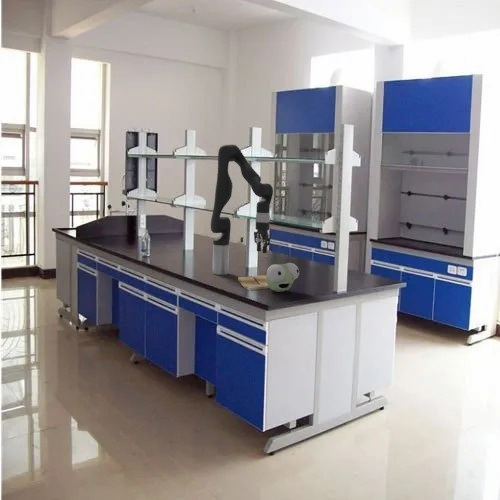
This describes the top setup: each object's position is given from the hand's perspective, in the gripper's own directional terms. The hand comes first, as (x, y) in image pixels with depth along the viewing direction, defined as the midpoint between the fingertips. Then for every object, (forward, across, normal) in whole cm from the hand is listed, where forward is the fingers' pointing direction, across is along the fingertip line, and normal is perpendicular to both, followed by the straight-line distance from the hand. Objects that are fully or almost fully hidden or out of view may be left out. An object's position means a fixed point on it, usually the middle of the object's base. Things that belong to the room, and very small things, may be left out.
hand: (261, 252), depth 322 cm
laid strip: (+17, +9, -5) cm, 20 cm away
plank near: (+16, +2, -10) cm, 19 cm away
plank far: (+16, +2, 0) cm, 16 cm away
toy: (+18, +20, -1) cm, 27 cm away
